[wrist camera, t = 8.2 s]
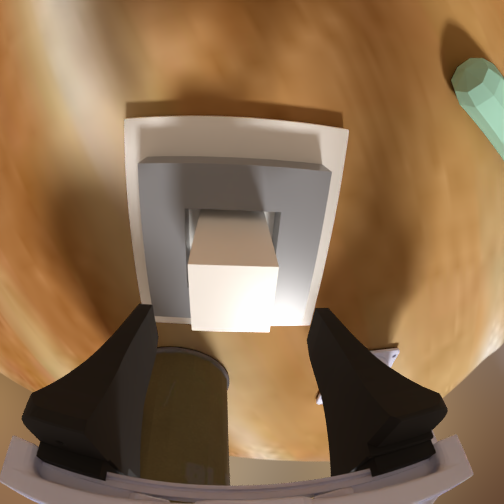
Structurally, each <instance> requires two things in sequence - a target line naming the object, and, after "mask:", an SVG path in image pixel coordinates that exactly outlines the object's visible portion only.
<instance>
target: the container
mask: <svg viewBox="0 0 504 504" xmlns="http://www.w3.org/2000/svg"><path fill="white" fill-rule="evenodd" d="M451 82H452V85H453V87H454V90H455V93H456V96H457V99H458V101H459V104H460V105H461V107H462V108H463V109H464V110H465V111H466V112H467V113H468V115H469V116H470V117H471V118H472V119H473V120H474V122H475V123H476V124H477V125H478V127H479V128H480V129H481V130H482V132H483V133H484V134H485V135H486V137H487V138H488V139H489V141H490V142H491V143H492V145H493V146H494V147H495V149H496V150H497V152H498V153H499V154H500V156H501V157H502V159H503V160H504V77H503V76H502V75H501V73H500V72H499V71H498V69H497V68H496V67H495V65H494V64H492V63H491V62H489V61H487V60H485V59H484V58H469V59H468V60H466V61H465V62H464V63H462V64H461V65H460V66H458V67H457V69H456V71H455V73H454V75H453V77H452V79H451Z"/></svg>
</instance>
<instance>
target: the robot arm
mask: <svg viewBox="0 0 504 504" xmlns="http://www.w3.org/2000/svg"><path fill="white" fill-rule="evenodd" d="M157 344H158V333H157V327H156V322H155V316H154V310H153V305H151V304H139V305H138V306H137V307H136V308H135V309H134V311H133V312H132V313H131V314H130V315H129V317H128V318H127V319H126V320H125V321H124V323H123V324H122V325H121V326H120V327H119V328H118V329H117V331H116V332H115V333H114V334H113V335H112V336H111V337H110V338H109V339H108V340H107V341H106V342H105V343H104V344H103V345H102V346H101V347H100V348H99V349H98V350H97V351H96V352H95V353H94V354H93V355H92V356H91V357H90V358H88V359H87V360H86V361H85V362H84V363H82V364H81V365H80V366H78V367H77V368H75V369H74V370H73V371H71V372H70V373H68V374H67V375H65V376H64V377H62V378H61V379H59V380H57V381H55V382H54V383H52V384H50V385H48V386H46V387H44V388H42V389H40V390H38V391H35V392H33V393H32V394H31V396H30V398H29V400H28V402H27V405H26V408H25V410H24V413H23V415H22V421H23V423H24V425H25V426H26V427H27V428H28V429H29V430H30V431H31V432H32V433H33V434H34V435H35V436H36V437H37V438H38V439H39V440H40V441H41V442H40V445H39V447H38V446H36V445H35V444H33V443H31V442H28V441H26V440H24V439H21V438H18V437H17V436H12V439H11V442H10V445H9V448H8V451H7V454H6V458H5V461H4V464H3V468H2V471H1V475H0V482H1V483H3V484H5V485H6V486H8V487H9V488H11V489H13V490H14V491H16V492H18V493H19V494H21V495H23V496H25V497H27V498H28V499H31V500H32V501H35V502H37V503H39V504H433V503H434V502H435V500H436V499H437V498H438V496H439V495H441V494H443V493H445V492H447V491H448V490H450V489H452V488H454V487H455V486H457V485H459V484H460V483H462V482H464V481H465V480H467V479H468V478H470V477H471V476H473V471H472V469H471V467H470V464H469V462H468V459H467V457H466V454H465V452H464V450H463V447H462V445H461V443H460V441H459V438H458V436H457V434H454V435H452V436H449V437H447V438H445V439H442V440H440V441H438V442H437V440H436V437H435V435H434V433H433V431H432V430H433V429H434V428H435V427H436V426H437V425H438V424H439V423H440V422H441V421H442V420H443V418H444V417H445V415H446V414H447V407H446V405H445V403H444V401H443V399H442V397H441V395H440V394H439V393H437V392H434V391H432V390H430V389H427V388H425V387H423V386H420V385H419V384H417V383H415V382H413V381H411V380H409V379H407V378H406V377H404V376H402V375H401V374H399V373H398V372H396V371H395V370H393V369H392V368H391V366H392V364H393V362H394V361H395V359H396V357H397V355H398V354H399V349H398V348H391V349H383V350H374V351H369V350H368V349H367V348H366V347H365V346H363V345H362V344H361V343H360V342H359V341H358V340H357V339H356V338H355V337H354V336H353V335H352V334H351V333H350V331H349V330H348V329H347V328H346V327H345V326H344V325H343V324H342V323H341V322H340V321H339V319H338V318H337V317H336V316H335V315H334V314H333V313H332V312H331V311H330V309H329V308H315V312H314V315H313V319H312V323H311V327H310V330H309V334H308V338H307V344H308V351H309V356H310V361H311V365H312V368H313V371H314V375H315V378H316V381H317V385H318V388H319V391H320V393H319V396H318V398H317V400H316V403H317V404H323V406H324V412H325V418H326V425H327V432H328V441H329V451H330V465H331V477H327V478H322V479H315V480H308V481H300V482H291V483H281V484H268V485H247V486H216V485H194V484H181V483H171V482H162V481H155V480H148V479H141V478H140V446H141V430H142V418H143V409H144V402H145V397H146V393H147V389H148V385H149V381H150V377H151V373H152V369H153V366H154V362H155V358H156V351H157ZM312 497H314V498H313V499H311V498H312ZM169 500H171V501H181V502H193V503H170V501H169Z"/></svg>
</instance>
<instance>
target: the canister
mask: <svg viewBox="0 0 504 504" xmlns="http://www.w3.org/2000/svg"><path fill="white" fill-rule="evenodd" d="M228 386H229V376H228V373H227V372H226V370H225V369H224V368H223V367H222V366H221V365H220V363H219V362H218V361H216V360H214V359H213V358H211V357H209V356H207V355H205V354H202V353H200V352H198V351H195V350H189V349H184V348H179V347H161V348H157V351H156V358H155V362H154V366H153V369H152V373H151V377H150V381H149V385H148V389H147V393H146V397H145V402H144V409H143V418H142V430H141V446H140V478H141V479H148V480H155V481H162V482H171V483H181V484H194V485H216V486H230V477H229V476H230V474H229V446H228V410H227V390H228ZM169 501H170V503H193V502H181V501H171V500H169Z"/></svg>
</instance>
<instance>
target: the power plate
mask: <svg viewBox="0 0 504 504" xmlns="http://www.w3.org/2000/svg"><path fill="white" fill-rule="evenodd" d="M348 135H349V130H348V129H345V128H340V127H333V126H327V125H320V124H313V123H305V122H297V121H288V120H278V119H266V118H253V117H235V116H196V115H189V116H151V117H133V118H126V119H124V143H125V169H126V186H127V199H128V211H129V221H130V230H131V238H132V246H133V254H134V261H135V268H136V274H137V281H138V287H139V292H140V298H141V303H142V304H151V305H153V310H154V316H155V322H162V323H179V324H191V313H190V298H189V281H188V261H189V256H190V252H191V248H192V243H193V239H194V235H195V231H196V227H197V223H198V219H199V215H200V211H201V209H214V210H242V211H264V213H265V217H266V221H267V224H268V228H269V232H270V235H271V239H272V243H273V246H274V250H275V254H276V257H277V261H278V265H279V271H278V278H277V285H276V291H275V298H274V305H273V311H272V318H271V324H270V326H296V325H310V323H311V319H312V316H313V312H314V308H315V304H316V300H317V296H318V292H319V288H320V283H321V279H322V275H323V271H324V266H325V262H326V257H327V253H328V248H329V243H330V239H331V234H332V229H333V224H334V219H335V214H336V209H337V203H338V198H339V192H340V186H341V181H342V175H343V169H344V162H345V156H346V149H347V142H348Z"/></svg>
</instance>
